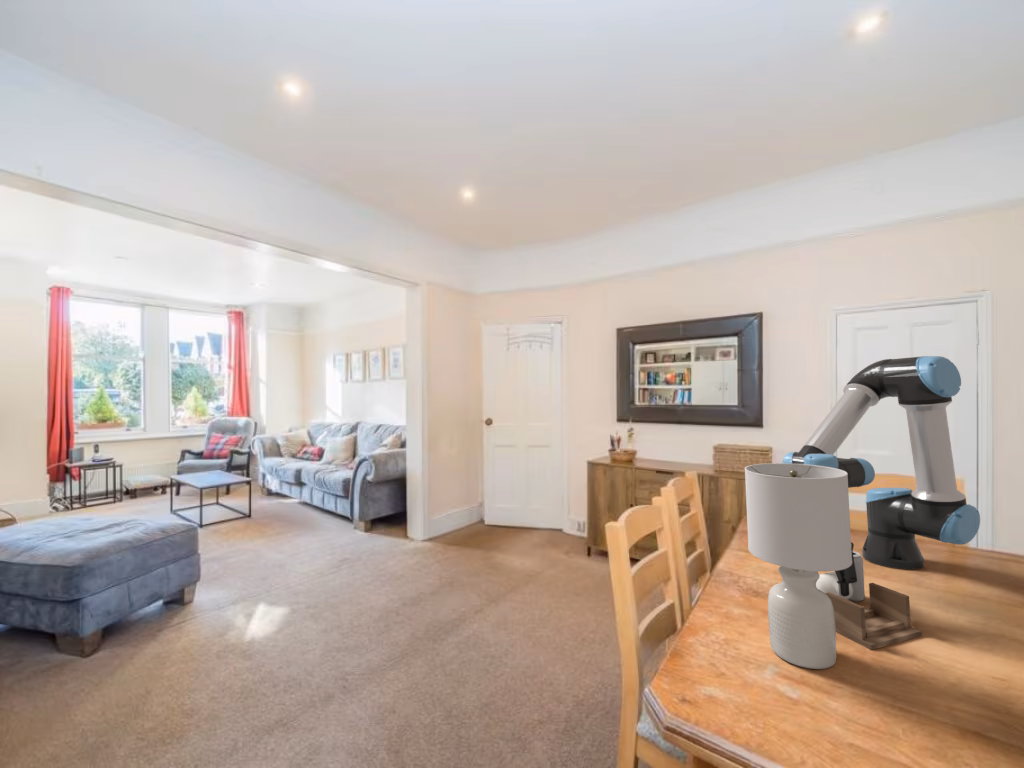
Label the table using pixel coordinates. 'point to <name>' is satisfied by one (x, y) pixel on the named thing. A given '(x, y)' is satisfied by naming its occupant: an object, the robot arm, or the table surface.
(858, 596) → the beverage can
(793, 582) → the lamp
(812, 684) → the table surface
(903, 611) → the holder
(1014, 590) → the table surface
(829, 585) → the cylinder
